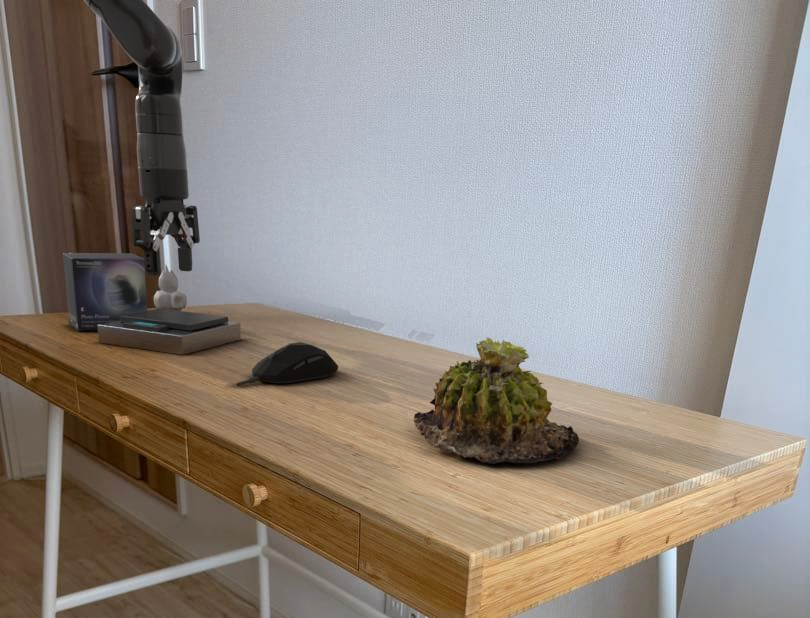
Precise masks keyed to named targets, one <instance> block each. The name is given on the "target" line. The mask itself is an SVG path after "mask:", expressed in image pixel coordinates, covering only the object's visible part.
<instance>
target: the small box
mask: <svg viewBox="0 0 810 618" xmlns="http://www.w3.org/2000/svg"><path fill="white" fill-rule="evenodd" d="M62 259H63V266H64V268H63V269H64V278H65V288H66V289H65V291H66V301H67V309H68V324H69V325H71V326H72V327H73V328H74V329H75V330H77V331H78V332H85V331H86V332H87V331H88V332H89V331H90V332H91V331H98V327H97V325H98V324H104V323H109V322H115V321H120V316H121V315H127V314H132V313H138V312H143V311H148V299H147V297H148V296H147V279H146V268H145V258H143V257H142V256H139V255H137V254H135V253H130V252H129V253H124V252H123V253H115V252H114V253H113V252H111V253H109V252H107V253H106V252H105V253H104V252H103V253H102V252H63V253H62Z"/></svg>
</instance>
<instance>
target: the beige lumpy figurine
mask: <svg viewBox="0 0 810 618" xmlns="http://www.w3.org/2000/svg"><path fill="white" fill-rule="evenodd" d="M158 288H159V289H160V290H157V291H156V292H155V294H154V295H153V304H154V307H155V309H168V310H176V311H183V309H185V308H186V307H187V304H188V298H187V295H186V293H184V292H181V291H179V290H178V288H179V278H178V276H177V275H176V273H175V271H174V270H173V269H171V270H169V268H168V265H167V264H165V269H163V270H162V272H161V273H160V275H159V277H158Z"/></svg>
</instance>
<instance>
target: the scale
mask: <svg viewBox="0 0 810 618" xmlns="http://www.w3.org/2000/svg"><path fill="white" fill-rule="evenodd" d="M97 327H98V330H97V335H98V337H97V338H98V343H99V344H104V345H110V346H111V345H113V346H119V347H126V348H132V349H133V348H134V349H139V350H146V351H152V352H153V351H154V352H160V353H167V354H175V355H181V356H183V355H188V354H192V353H195V352H199V351H203V350H206V349H211V348H214V347H218V346H221V345H226V344H229V343H233V342H238V341H240V340H241V339H242V338H241V337H242V336H241V335H242V334H241V322H238V321H230V320H228V322H227V323H223V324H218V325H214V326H210V327H205V328H201V329H196V330H192V331H191V330H183V329H175V328H168V326H167V325H159V324H151V323H144V322H136V321H130V322H122V321H115V322H109V323H104V324H98V325H97Z"/></svg>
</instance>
